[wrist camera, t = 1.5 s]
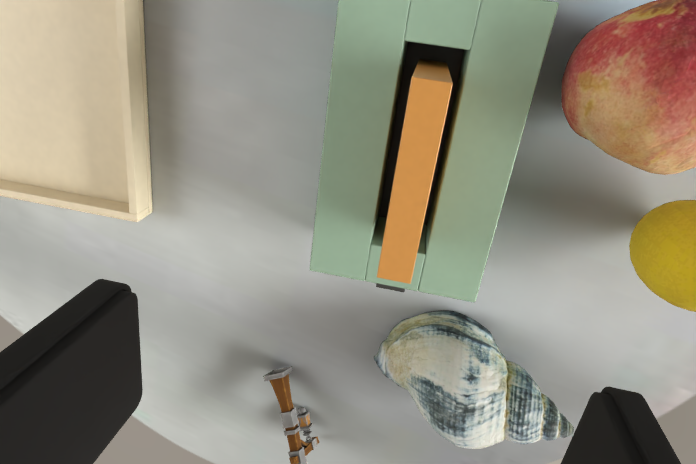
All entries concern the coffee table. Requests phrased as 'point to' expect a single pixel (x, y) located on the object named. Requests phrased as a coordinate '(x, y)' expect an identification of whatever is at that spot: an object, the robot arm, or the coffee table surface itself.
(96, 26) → the tray
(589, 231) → the coffee table surface
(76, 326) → the robot arm
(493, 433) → the seashell
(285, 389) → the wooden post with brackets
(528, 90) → the toaster
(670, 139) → the fruit
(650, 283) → the lemon
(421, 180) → the toast
